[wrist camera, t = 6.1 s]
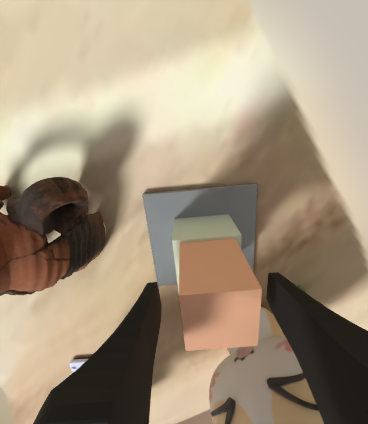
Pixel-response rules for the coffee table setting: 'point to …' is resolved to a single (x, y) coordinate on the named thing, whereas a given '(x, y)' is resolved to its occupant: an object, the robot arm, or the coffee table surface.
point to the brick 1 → (202, 232)
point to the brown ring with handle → (36, 239)
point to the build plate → (197, 207)
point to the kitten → (262, 383)
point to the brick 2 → (217, 296)
